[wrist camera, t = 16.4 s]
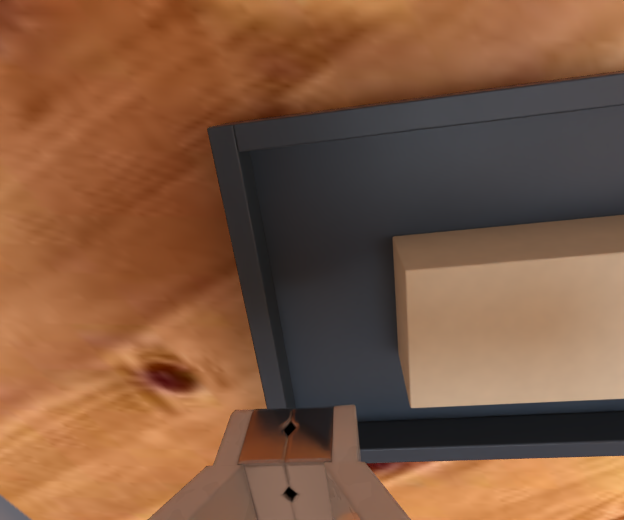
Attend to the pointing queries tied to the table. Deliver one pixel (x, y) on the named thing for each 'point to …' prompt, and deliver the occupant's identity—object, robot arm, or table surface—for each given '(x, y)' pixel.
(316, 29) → the table surface
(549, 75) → the table surface
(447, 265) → the beige rectangular block
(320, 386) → the backing tray
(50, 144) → the table surface
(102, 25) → the table surface
